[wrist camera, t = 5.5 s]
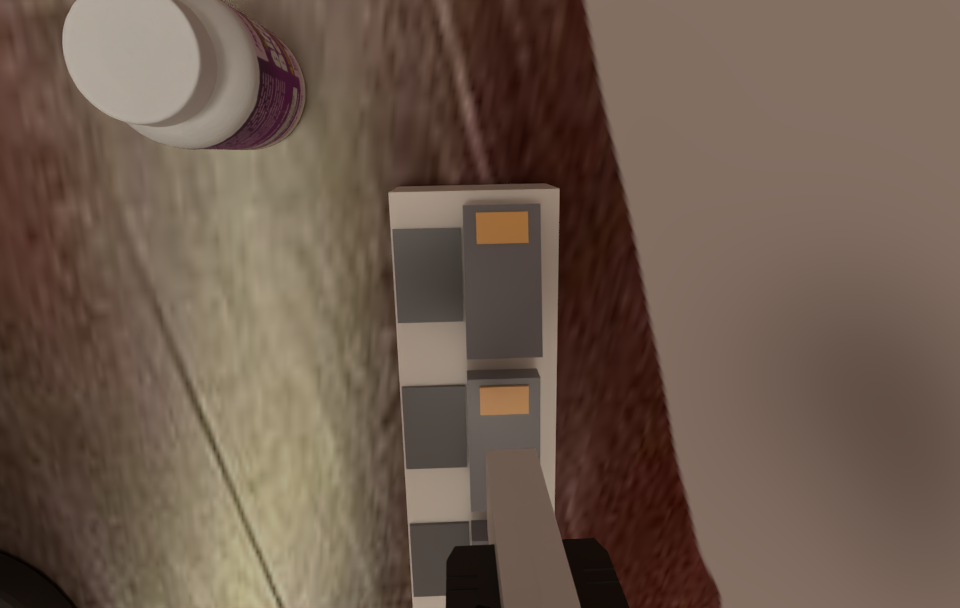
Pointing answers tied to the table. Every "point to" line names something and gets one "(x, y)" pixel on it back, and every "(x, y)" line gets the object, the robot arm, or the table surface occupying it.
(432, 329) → the power strip
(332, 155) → the table surface
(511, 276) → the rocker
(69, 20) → the pill bottle
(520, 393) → the rocker
